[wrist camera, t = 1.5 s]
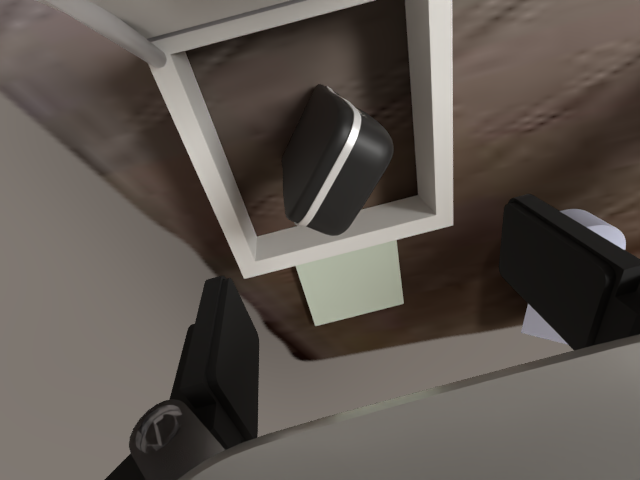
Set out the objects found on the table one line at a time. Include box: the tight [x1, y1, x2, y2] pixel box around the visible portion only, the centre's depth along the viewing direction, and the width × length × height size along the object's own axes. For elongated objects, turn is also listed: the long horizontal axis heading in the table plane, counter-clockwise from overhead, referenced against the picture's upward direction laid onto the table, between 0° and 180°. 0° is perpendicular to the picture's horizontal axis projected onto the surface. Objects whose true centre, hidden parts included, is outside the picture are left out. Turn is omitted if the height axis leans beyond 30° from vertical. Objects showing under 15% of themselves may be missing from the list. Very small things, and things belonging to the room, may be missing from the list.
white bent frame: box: [35, 0, 453, 279], centre depth 17 cm, size 18×21×20 cm
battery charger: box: [282, 84, 394, 236], centre depth 22 cm, size 7×4×11 cm, turn 152°
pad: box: [296, 240, 404, 326], centre depth 34 cm, size 10×10×1 cm
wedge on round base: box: [521, 209, 626, 345], centre depth 34 cm, size 9×7×13 cm
